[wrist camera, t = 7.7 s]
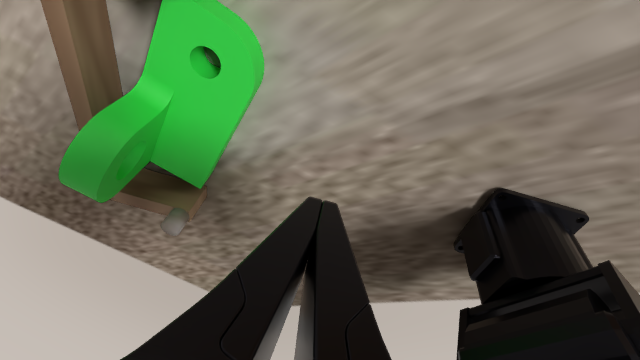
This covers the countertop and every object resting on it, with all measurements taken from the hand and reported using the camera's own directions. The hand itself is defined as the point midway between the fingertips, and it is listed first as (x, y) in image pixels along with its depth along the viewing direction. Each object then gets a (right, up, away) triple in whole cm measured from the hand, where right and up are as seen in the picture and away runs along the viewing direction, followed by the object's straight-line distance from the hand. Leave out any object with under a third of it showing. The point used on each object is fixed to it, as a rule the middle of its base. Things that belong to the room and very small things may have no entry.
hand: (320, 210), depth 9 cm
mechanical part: (-8, +7, +12) cm, 16 cm away
